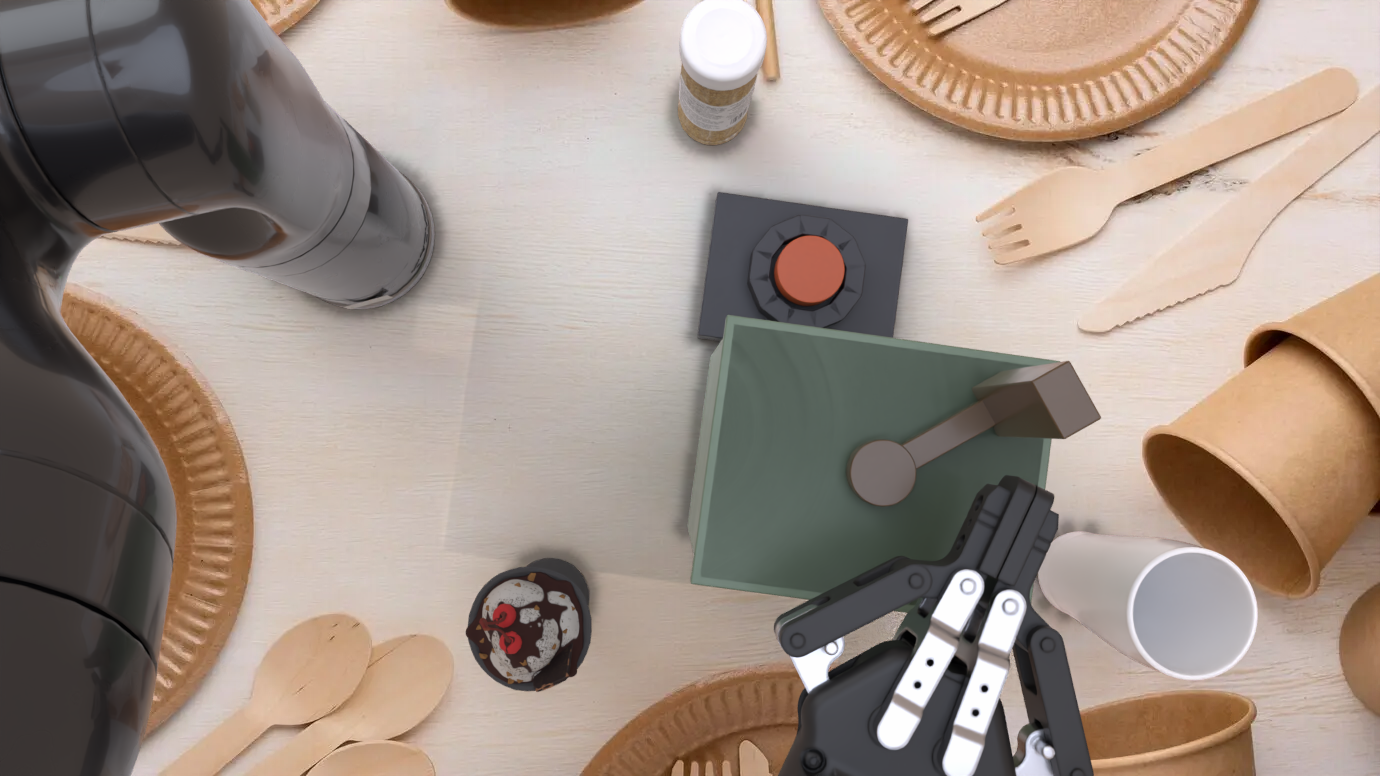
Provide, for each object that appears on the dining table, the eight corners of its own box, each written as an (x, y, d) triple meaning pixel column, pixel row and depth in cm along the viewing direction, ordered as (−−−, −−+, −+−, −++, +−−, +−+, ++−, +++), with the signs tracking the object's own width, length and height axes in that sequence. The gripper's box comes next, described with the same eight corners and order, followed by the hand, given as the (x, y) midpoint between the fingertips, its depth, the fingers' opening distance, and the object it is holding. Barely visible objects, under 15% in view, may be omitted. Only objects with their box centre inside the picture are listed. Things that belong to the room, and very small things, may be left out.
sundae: (497, 543, 66) (449, 578, 51) (604, 546, 67) (587, 582, 52) (493, 648, 66) (444, 714, 51) (600, 651, 66) (582, 718, 51)
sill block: (681, 531, 67) (690, 584, 45) (706, 350, 67) (727, 314, 45) (909, 562, 67) (1028, 629, 45) (932, 381, 67) (1062, 361, 45)
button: (769, 301, 64) (772, 297, 62) (778, 236, 64) (781, 230, 62) (835, 310, 64) (840, 307, 62) (843, 245, 64) (848, 240, 62)
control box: (696, 337, 67) (699, 332, 63) (715, 199, 68) (719, 184, 64) (882, 363, 67) (896, 359, 63) (900, 225, 68) (915, 212, 64)
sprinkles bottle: (717, 63, 68) (730, -26, 54) (762, 117, 68) (786, 42, 54) (662, 107, 68) (661, 29, 54) (707, 162, 68) (717, 97, 54)
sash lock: (866, 516, 45) (906, 535, 37) (833, 459, 45) (868, 466, 37) (1032, 423, 45) (1105, 423, 38) (1000, 366, 45) (1067, 354, 38)
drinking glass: (1054, 644, 67) (1166, 707, 52) (1004, 549, 67) (1102, 585, 52) (1147, 594, 67) (1285, 643, 52) (1097, 500, 67) (1220, 521, 52)
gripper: (1028, 1052, 35) (1244, 574, 35) (666, 879, 35) (890, 404, 35) (964, 941, 42) (1142, 548, 43) (666, 799, 42) (850, 408, 43)
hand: (1028, 484), depth 39 cm, fingers closed
